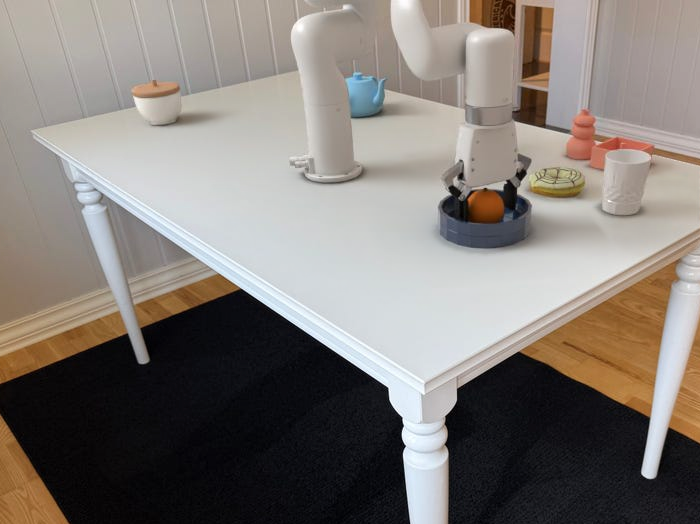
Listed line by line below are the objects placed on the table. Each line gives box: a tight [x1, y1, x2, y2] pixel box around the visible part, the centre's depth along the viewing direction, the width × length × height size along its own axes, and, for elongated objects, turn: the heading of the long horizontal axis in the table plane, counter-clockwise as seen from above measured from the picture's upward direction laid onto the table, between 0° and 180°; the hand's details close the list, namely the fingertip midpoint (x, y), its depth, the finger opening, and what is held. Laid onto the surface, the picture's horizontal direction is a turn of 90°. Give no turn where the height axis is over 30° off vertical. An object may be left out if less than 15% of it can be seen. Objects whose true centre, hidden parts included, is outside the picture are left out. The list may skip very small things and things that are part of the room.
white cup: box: [601, 149, 652, 216], centre depth 125 cm, size 8×8×10 cm
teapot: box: [344, 71, 389, 118], centre depth 186 cm, size 15×15×10 cm
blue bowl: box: [437, 188, 533, 249], centre depth 121 cm, size 16×16×5 cm
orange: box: [468, 187, 504, 224], centre depth 119 cm, size 7×7×7 cm
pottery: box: [565, 108, 655, 171], centre depth 147 cm, size 18×10×10 cm, turn 43°
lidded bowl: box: [130, 78, 183, 126], centre depth 186 cm, size 13×13×11 cm
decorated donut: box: [528, 166, 586, 199], centre depth 135 cm, size 10×11×4 cm
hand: (485, 213), depth 120 cm, fingers open, 9 cm apart
